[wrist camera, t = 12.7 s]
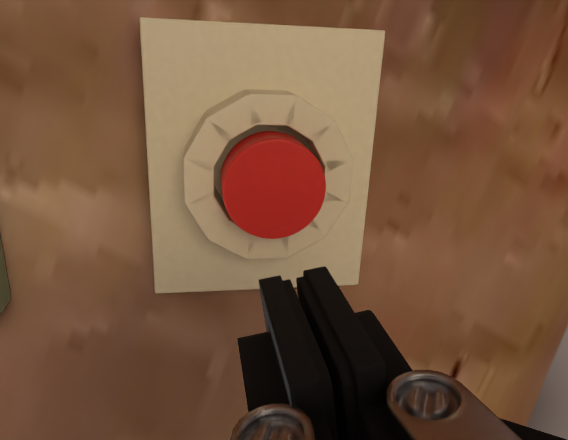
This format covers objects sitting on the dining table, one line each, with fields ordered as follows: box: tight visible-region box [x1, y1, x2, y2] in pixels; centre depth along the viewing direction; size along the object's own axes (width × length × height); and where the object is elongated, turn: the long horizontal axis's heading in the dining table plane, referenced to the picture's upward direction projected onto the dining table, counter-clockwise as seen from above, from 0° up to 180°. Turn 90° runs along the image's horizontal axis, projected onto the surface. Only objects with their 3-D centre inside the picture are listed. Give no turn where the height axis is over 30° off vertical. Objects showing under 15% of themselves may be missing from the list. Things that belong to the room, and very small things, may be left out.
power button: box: [220, 131, 326, 239], centre depth 19 cm, size 4×4×2 cm
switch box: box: [139, 17, 385, 293], centre depth 21 cm, size 12×10×4 cm
